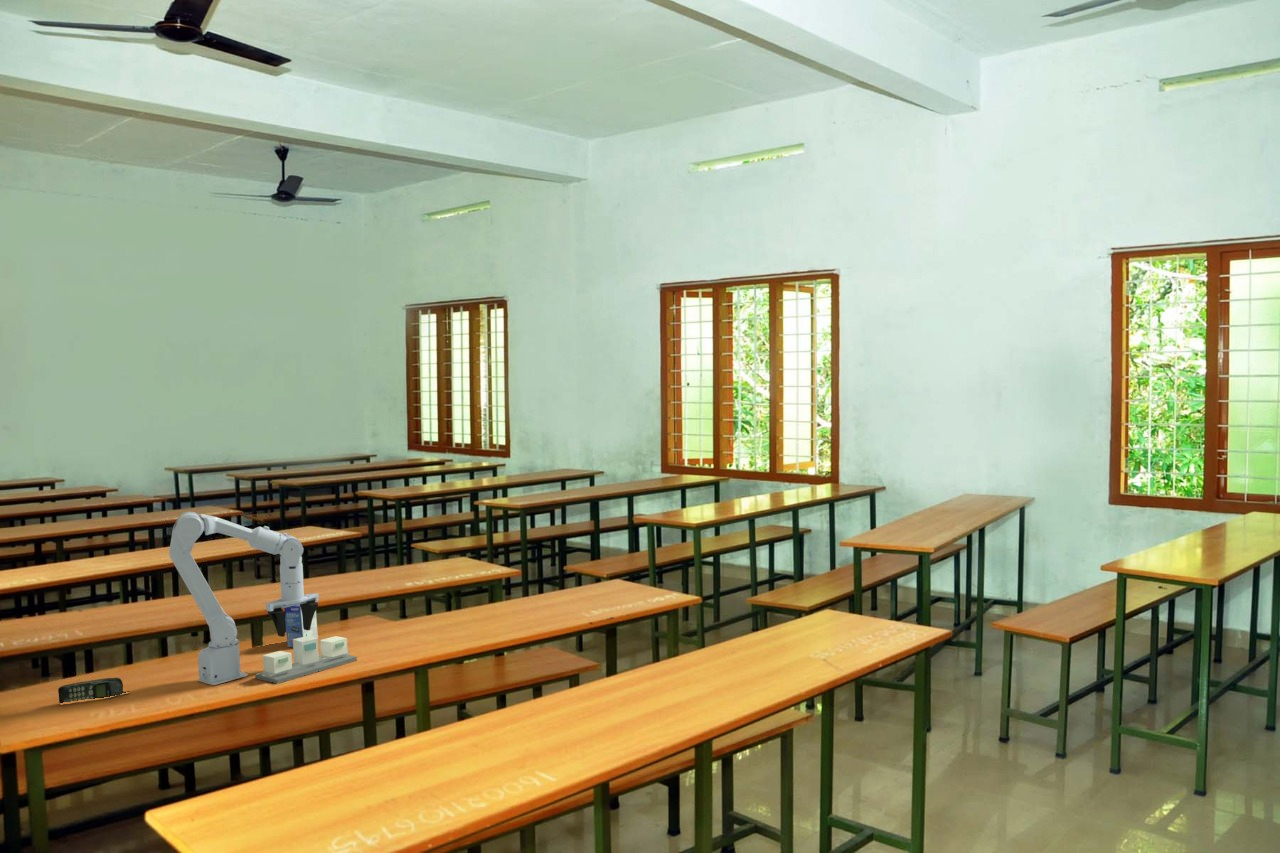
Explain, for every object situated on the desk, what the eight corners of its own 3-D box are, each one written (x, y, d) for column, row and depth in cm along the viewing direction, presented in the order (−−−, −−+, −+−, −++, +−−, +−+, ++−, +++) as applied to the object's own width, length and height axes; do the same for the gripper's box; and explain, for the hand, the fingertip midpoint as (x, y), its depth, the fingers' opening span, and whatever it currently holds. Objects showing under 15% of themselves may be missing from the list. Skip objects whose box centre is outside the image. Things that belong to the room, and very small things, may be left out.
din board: (277, 683, 245) (277, 679, 245) (255, 678, 251) (254, 674, 251) (356, 660, 264) (356, 656, 264) (334, 655, 270) (334, 652, 270)
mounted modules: (275, 673, 247) (274, 658, 247) (263, 670, 250) (262, 655, 250) (348, 653, 264) (347, 638, 264) (336, 650, 268) (335, 636, 268)
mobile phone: (57, 687, 233) (127, 676, 239) (58, 684, 236) (128, 673, 242) (59, 708, 233) (129, 696, 240) (60, 704, 236) (130, 692, 242)
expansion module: (303, 665, 254) (302, 642, 254) (293, 661, 258) (292, 639, 258) (319, 661, 257) (318, 638, 257) (310, 657, 261) (308, 635, 261)
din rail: (269, 678, 247) (269, 674, 247) (262, 676, 249) (261, 672, 249) (349, 655, 266) (349, 651, 266) (341, 653, 268) (341, 649, 268)
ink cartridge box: (300, 638, 291) (298, 590, 291) (318, 638, 291) (316, 590, 290) (285, 647, 281) (282, 597, 281) (304, 647, 281) (301, 597, 280)
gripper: (307, 576, 267) (309, 625, 267) (258, 585, 255) (260, 636, 256) (322, 578, 262) (324, 628, 263) (273, 588, 251) (276, 640, 251)
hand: (294, 632), depth 259 cm, fingers open, 7 cm apart
